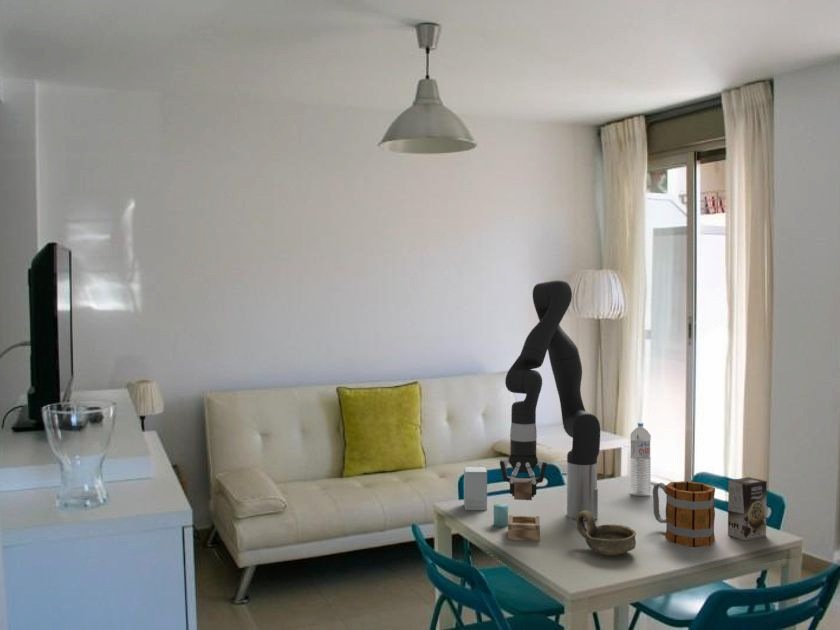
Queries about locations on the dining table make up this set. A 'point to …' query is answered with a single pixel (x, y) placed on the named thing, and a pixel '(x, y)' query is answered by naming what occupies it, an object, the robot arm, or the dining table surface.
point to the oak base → (524, 528)
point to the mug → (687, 512)
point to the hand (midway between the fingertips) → (523, 495)
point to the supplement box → (475, 488)
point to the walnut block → (522, 489)
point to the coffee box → (747, 508)
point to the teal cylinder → (500, 515)
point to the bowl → (606, 536)
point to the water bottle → (640, 462)
